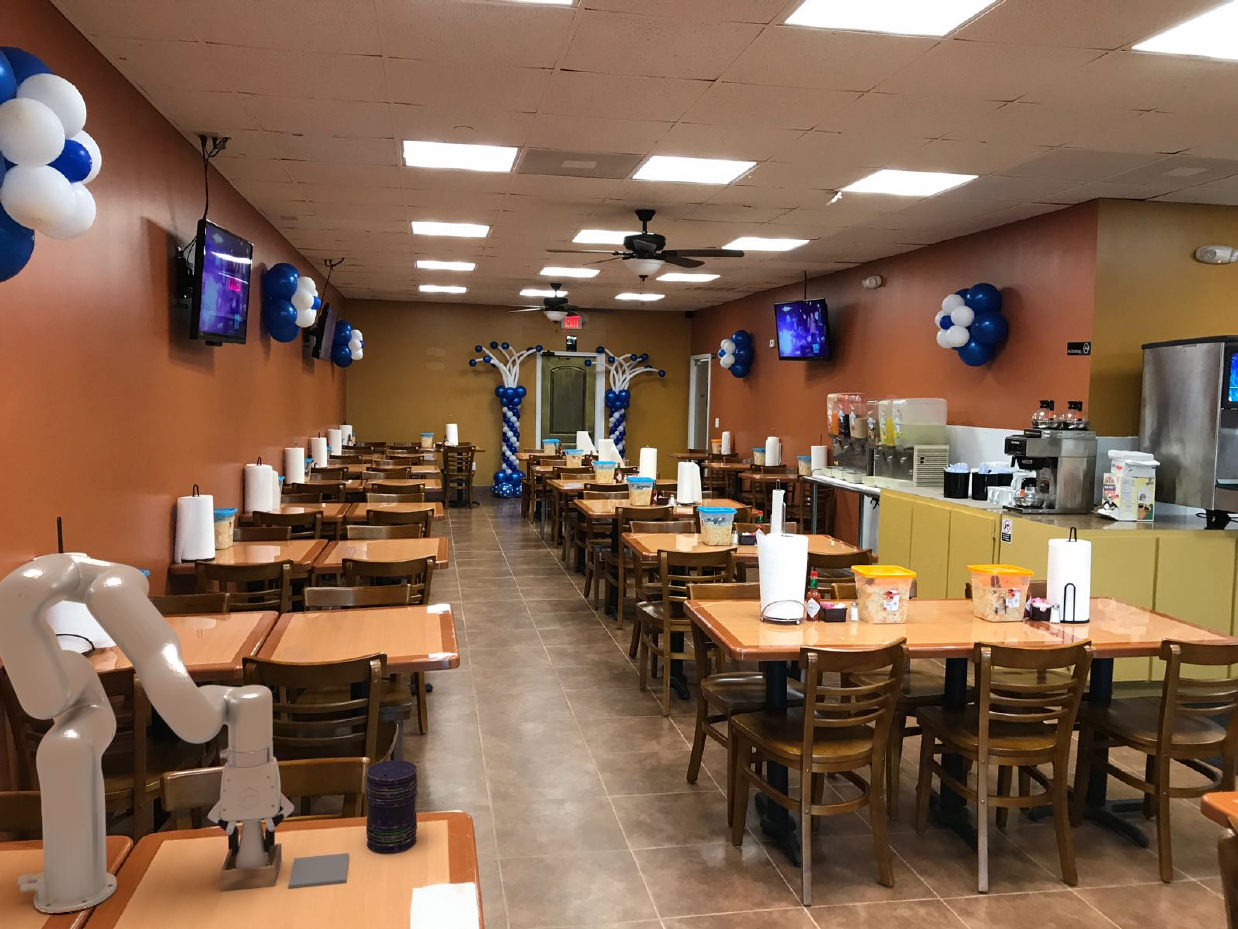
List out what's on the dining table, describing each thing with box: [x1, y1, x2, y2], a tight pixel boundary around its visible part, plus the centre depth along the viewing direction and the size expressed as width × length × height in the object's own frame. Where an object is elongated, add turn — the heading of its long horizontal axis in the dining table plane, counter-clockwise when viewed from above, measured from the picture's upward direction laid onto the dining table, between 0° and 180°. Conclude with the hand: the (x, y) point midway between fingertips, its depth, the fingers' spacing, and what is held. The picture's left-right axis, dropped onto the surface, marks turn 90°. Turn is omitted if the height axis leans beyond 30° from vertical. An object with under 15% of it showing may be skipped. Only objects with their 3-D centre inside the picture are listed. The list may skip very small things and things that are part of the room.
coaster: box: [287, 852, 350, 889], centre depth 171 cm, size 10×10×1 cm
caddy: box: [219, 842, 283, 892], centre depth 169 cm, size 9×9×4 cm
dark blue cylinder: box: [365, 759, 418, 855], centre depth 182 cm, size 10×10×15 cm
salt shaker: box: [234, 819, 269, 869], centre depth 168 cm, size 6×6×13 cm
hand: (251, 849), depth 169 cm, fingers open, 5 cm apart
